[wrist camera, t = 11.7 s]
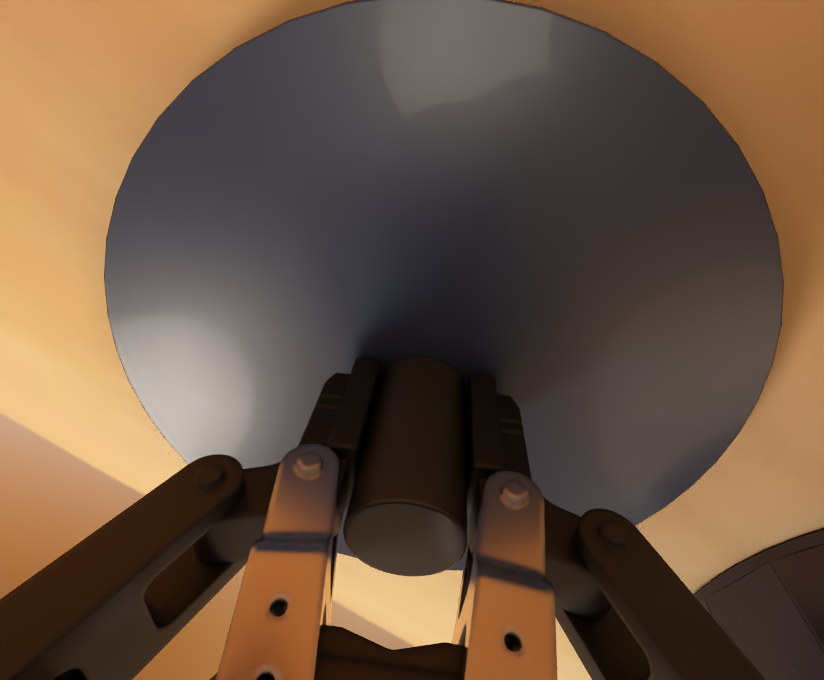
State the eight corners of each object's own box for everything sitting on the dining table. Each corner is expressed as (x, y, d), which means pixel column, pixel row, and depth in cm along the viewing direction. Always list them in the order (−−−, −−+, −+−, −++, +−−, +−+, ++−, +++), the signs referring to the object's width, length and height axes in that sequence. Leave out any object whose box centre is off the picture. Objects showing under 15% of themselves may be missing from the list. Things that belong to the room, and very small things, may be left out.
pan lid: (950, 53, 9) (1605, 45, 4) (618, 576, 19) (674, 761, 14) (27, -50, 9) (-487, -181, 4) (187, 513, 20) (92, 671, 15)
